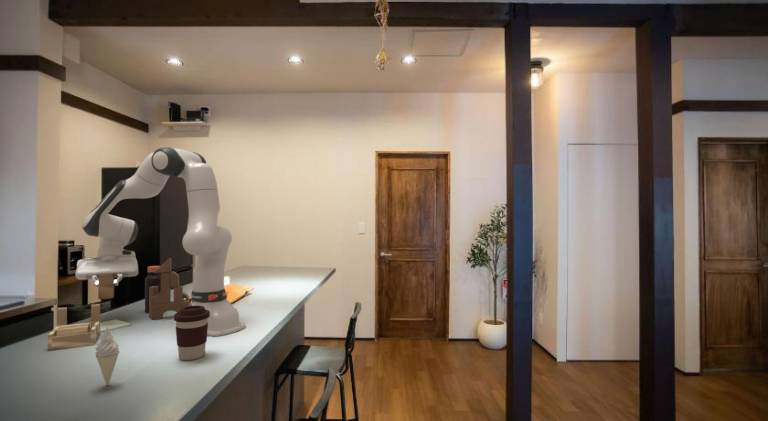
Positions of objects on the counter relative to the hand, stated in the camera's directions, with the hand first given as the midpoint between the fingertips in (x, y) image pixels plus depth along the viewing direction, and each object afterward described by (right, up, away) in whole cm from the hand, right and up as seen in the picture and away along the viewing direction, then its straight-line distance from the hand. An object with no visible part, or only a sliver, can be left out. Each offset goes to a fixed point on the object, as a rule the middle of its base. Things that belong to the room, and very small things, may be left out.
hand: (106, 285), depth 148 cm
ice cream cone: (+36, -16, -50) cm, 63 cm away
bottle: (+4, -16, +23) cm, 29 cm away
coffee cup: (+48, -16, -30) cm, 59 cm away
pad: (0, -16, 0) cm, 16 cm away
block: (0, -5, +1) cm, 5 cm away
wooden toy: (+16, -16, +15) cm, 27 cm away
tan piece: (+2, -16, -17) cm, 24 cm away
